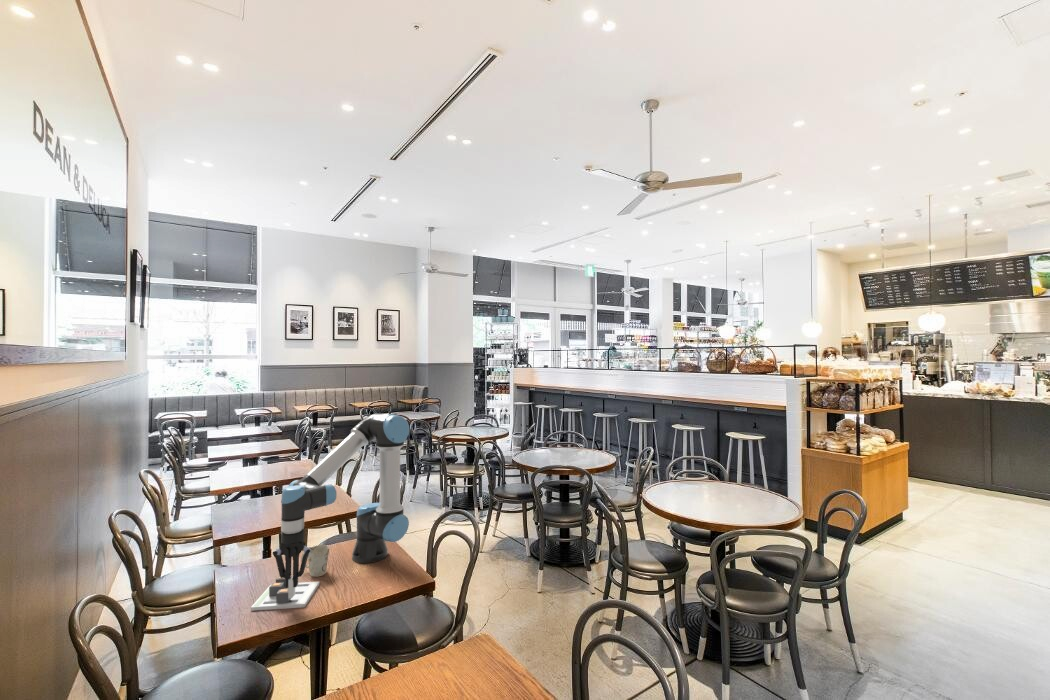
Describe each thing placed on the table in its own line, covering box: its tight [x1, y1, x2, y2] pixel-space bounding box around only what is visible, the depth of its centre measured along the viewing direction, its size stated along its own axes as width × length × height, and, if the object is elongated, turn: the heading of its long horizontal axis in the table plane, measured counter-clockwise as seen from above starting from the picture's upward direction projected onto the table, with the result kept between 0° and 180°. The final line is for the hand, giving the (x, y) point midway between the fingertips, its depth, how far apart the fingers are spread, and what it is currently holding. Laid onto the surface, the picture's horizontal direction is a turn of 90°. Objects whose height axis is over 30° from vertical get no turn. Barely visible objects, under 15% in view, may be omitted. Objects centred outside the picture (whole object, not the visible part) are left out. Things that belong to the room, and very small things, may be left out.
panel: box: [250, 575, 320, 612], centre depth 173 cm, size 18×17×5 cm
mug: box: [300, 544, 330, 578], centre depth 193 cm, size 8×13×10 cm, turn 78°
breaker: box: [276, 589, 291, 603], centre depth 167 cm, size 4×3×4 cm
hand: (291, 596), depth 167 cm, fingers closed
